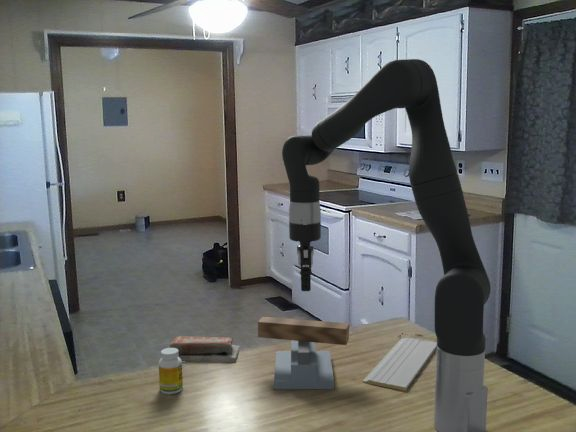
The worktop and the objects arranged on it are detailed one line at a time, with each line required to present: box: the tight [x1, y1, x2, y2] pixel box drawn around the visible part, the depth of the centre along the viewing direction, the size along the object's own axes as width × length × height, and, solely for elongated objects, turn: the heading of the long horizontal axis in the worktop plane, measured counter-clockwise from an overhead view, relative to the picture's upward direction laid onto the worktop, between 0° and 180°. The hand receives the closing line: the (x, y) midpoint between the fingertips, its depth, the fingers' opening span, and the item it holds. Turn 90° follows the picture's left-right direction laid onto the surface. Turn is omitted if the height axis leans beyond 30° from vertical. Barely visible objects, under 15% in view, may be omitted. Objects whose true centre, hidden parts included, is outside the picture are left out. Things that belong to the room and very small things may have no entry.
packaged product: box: [169, 336, 240, 363], centre depth 158 cm, size 18×5×10 cm
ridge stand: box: [273, 340, 335, 390], centre depth 145 cm, size 14×18×9 cm
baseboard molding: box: [362, 332, 437, 392], centre depth 152 cm, size 31×3×12 cm
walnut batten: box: [257, 316, 350, 346], centre depth 144 cm, size 22×4×4 cm, turn 75°
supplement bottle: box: [158, 347, 184, 395], centre depth 137 cm, size 5×5×10 cm
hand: (305, 285), depth 143 cm, fingers open, 8 cm apart
